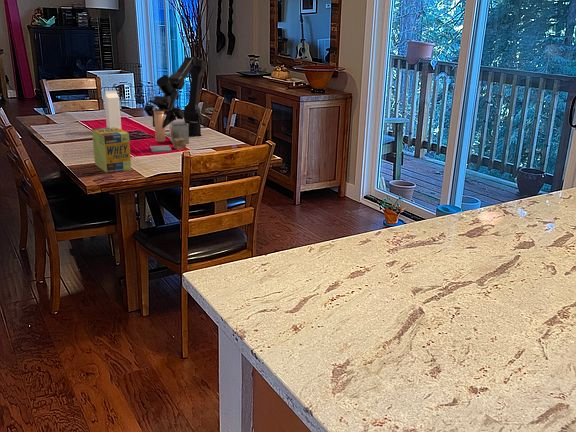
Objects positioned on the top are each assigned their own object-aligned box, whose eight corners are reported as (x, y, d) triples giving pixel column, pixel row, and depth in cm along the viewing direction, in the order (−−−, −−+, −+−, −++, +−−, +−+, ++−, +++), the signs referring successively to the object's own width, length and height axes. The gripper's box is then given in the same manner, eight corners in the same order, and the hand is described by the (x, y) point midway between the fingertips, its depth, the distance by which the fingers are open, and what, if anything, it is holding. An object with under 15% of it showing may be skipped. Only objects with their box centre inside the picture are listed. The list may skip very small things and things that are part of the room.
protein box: (107, 173, 225) (103, 135, 220) (94, 164, 237) (91, 128, 231) (132, 170, 231) (129, 133, 226) (118, 161, 243) (115, 126, 237)
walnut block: (182, 146, 271) (181, 137, 269) (186, 148, 267) (185, 139, 266) (173, 147, 268) (173, 138, 267) (177, 149, 265) (176, 140, 263)
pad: (169, 146, 270) (169, 145, 269) (171, 151, 262) (171, 149, 261) (150, 147, 267) (150, 146, 266) (152, 152, 259) (152, 150, 258)
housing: (186, 139, 285) (185, 121, 281) (188, 143, 278) (188, 124, 274) (169, 140, 282) (168, 121, 279) (171, 144, 275) (171, 124, 272)
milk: (121, 133, 294) (118, 91, 287) (110, 134, 291) (106, 91, 283) (118, 131, 299) (115, 89, 291) (106, 132, 296) (103, 90, 288)
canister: (163, 138, 266) (161, 110, 261) (167, 140, 262) (165, 111, 257) (153, 139, 263) (151, 110, 258) (157, 141, 260) (156, 112, 255)
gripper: (144, 87, 260) (133, 115, 255) (180, 90, 255) (169, 118, 249) (154, 102, 270) (143, 129, 264) (188, 105, 265) (178, 132, 259)
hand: (158, 127), depth 259 cm, fingers closed on canister, 5 cm apart
